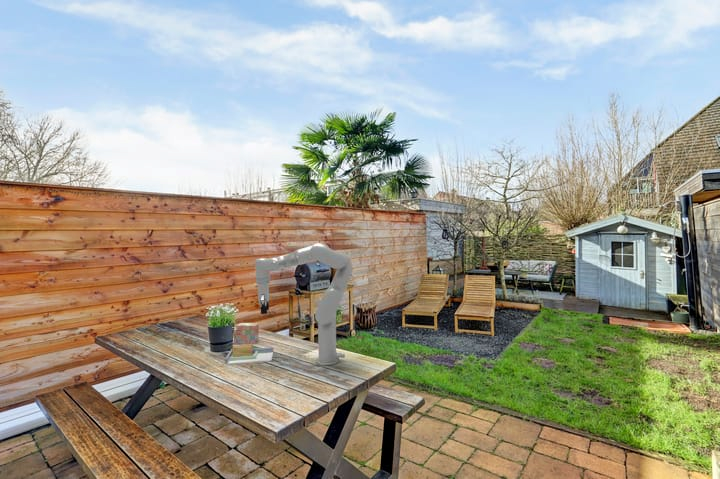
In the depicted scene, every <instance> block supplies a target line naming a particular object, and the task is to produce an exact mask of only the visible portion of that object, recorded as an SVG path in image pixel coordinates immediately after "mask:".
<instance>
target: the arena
mask: <svg viewBox="0 0 720 479" xmlns="http://www.w3.org/2000/svg"><path fill="white" fill-rule="evenodd" d="M273 355H274V347H273V346H272V347H260V348H258V347H257V348H253V355H252V356H242V357H233V349H231V350H229V352H228V354H227V355H226V357H225V359H224V364H227V365H236V364H237V365H238V364H239V365H240V364H252V363H253V364H254V363H266V362H272V361H273V360H272V359H273Z"/></svg>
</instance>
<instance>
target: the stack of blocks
mask: <svg viewBox="0 0 720 479" xmlns="http://www.w3.org/2000/svg"><path fill="white" fill-rule="evenodd" d="M234 328H235V329H234V344H233V345H246V344H255V345H256V344H258V343H259V323H258V322H255V323H254V322H239V323H238V324H237V325H236V327H234Z"/></svg>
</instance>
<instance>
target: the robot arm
mask: <svg viewBox="0 0 720 479" xmlns="http://www.w3.org/2000/svg"><path fill="white" fill-rule="evenodd" d="M315 261H318V262H320V263H321V264H324V265H326V266H328V267H329V268H332V269H334V270H336V272H335V274H334V276H333V278H332V281H331V283H330V284H329V287H328V288H327V289H326V290H325V291H324V293H323V295H322V297H321V299H320V301H319V304H318V306H317V308H316V310H315V313H314V318H315V322H317V324H318V325H317V326H318V328H317V334H318V338H317V341H318V357H317V358H316V359H315V363H316V364H318V365H320V366H332V365H335V364H339V361H340V358H344V359H345V358H346V355H345V353H342V352H337V310H338V308H339V307H340V306H339V305H340V303H341V302H342V300H343V297H344V294H345V292H346V290H347V287H348V285H349V282H350V281H351V278H352V275H353V264H352V261H351V258H350V257H349V256H348V255H347V253H344V252H342V251H335V250H334V249H332V248H329V247H328V245H326V244H325V243H323V242H316V243H314V244H312V245H309V246H305V247H302V248H297V249H296V250H294V251H292V252H290V253H287V254H282V255H280V256H275V257H271V258H270V257H269V258H265V257H264V258H263V257H262V258H256V259H255V261H254V266H255V269H254V271H255V284H256V285H257V299H258V300H257V302H258V303H260V314H261V315H266V314H268V311H269V309H270V308H269V307H270V306H269V305H270V304H269V299H270V288H269V284H271V272H278V271H281V270H284V269H287V268H291V267H294V266H299V265H300V266H301V265H305V264H308V263H311V262H315Z"/></svg>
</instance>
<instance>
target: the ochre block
mask: <svg viewBox="0 0 720 479" xmlns="http://www.w3.org/2000/svg"><path fill="white" fill-rule="evenodd" d="M253 347H254V346H253V344H233V347H232V350H233V357H242V356H252V355H253V349H254V348H253Z"/></svg>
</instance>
